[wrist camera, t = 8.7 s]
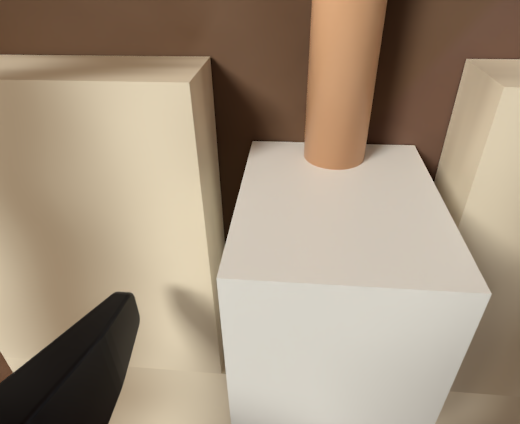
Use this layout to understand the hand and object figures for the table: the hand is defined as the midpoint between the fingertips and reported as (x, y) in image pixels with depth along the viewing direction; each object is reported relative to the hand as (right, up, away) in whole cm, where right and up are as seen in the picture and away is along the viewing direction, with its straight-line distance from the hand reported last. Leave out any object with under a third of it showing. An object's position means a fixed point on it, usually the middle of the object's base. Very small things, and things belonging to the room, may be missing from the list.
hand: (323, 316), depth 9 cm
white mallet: (0, +5, 0) cm, 5 cm away
